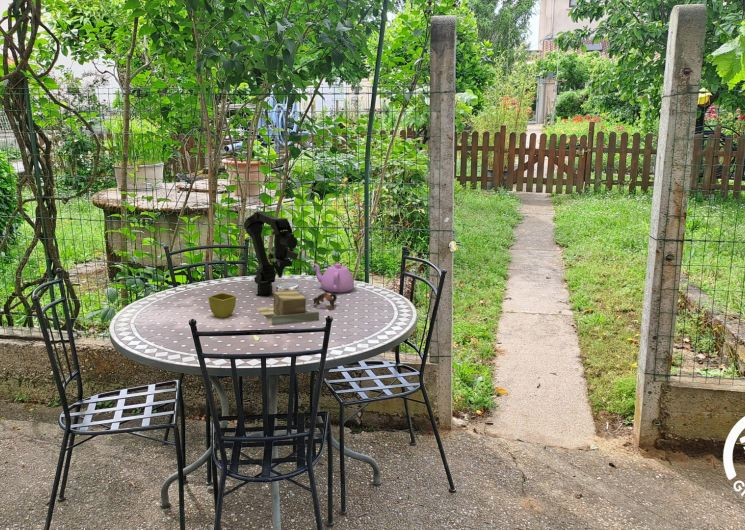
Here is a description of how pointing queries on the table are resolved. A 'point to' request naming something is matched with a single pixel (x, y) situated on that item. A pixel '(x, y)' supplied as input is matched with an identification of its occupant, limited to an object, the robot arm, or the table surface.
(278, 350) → the table surface
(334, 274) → the teapot
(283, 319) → the board
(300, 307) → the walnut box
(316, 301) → the brown piece
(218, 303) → the flower pot
